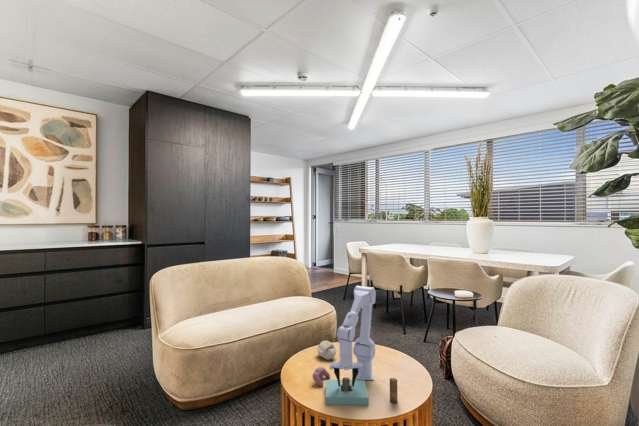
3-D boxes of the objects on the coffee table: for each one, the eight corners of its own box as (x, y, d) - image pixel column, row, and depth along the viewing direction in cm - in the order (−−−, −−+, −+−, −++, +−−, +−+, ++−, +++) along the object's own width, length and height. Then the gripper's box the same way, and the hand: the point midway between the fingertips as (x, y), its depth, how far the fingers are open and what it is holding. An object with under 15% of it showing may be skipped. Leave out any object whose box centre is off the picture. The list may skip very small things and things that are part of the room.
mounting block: (326, 386, 139) (326, 379, 139) (364, 387, 138) (364, 380, 139) (325, 404, 125) (325, 396, 125) (368, 405, 124) (368, 397, 125)
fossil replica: (330, 363, 162) (339, 358, 171) (332, 348, 163) (341, 343, 171) (312, 356, 169) (321, 352, 177) (314, 341, 170) (323, 337, 178)
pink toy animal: (324, 379, 148) (318, 365, 150) (331, 377, 147) (325, 362, 148) (315, 389, 139) (309, 374, 141) (323, 386, 138) (317, 371, 139)
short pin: (342, 393, 133) (342, 377, 134) (349, 393, 133) (349, 377, 134) (342, 397, 130) (342, 381, 130) (349, 397, 130) (349, 381, 130)
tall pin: (389, 399, 129) (388, 377, 129) (396, 399, 129) (396, 378, 129) (390, 403, 126) (390, 381, 126) (398, 403, 125) (398, 381, 126)
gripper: (329, 357, 129) (329, 390, 128) (363, 358, 128) (363, 390, 128) (329, 351, 136) (329, 381, 135) (361, 351, 135) (361, 382, 135)
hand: (346, 385), depth 132 cm, fingers open, 5 cm apart
